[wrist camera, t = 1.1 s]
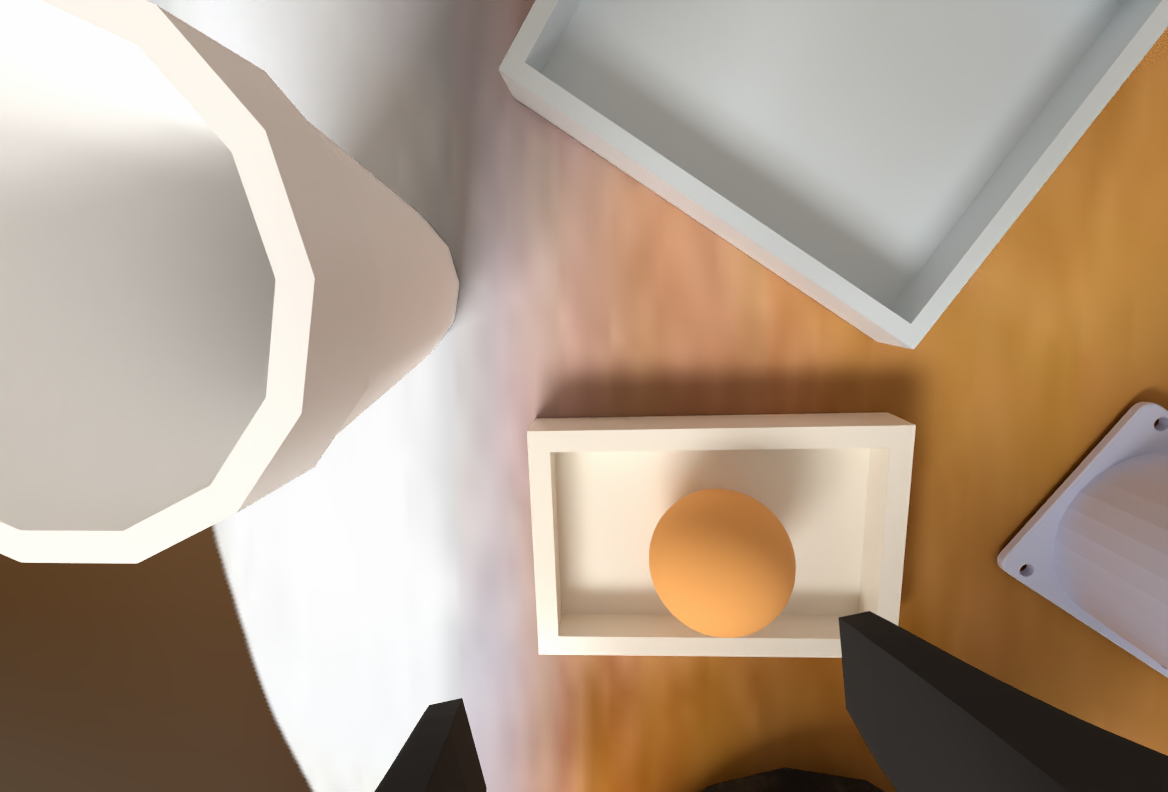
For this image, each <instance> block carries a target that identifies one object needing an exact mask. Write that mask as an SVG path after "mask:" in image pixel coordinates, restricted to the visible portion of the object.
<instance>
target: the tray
mask: <svg viewBox="0 0 1168 792" xmlns="http://www.w3.org/2000/svg"><path fill="white" fill-rule="evenodd" d="M1167 27H1168V0H535V2H534V4H533V6H532V8H531V10H530V11H529V13H528V15H527V17H526V19H525V21H524V23H523V24H522V26H521V28H520V30H519V32H518V34H517V35H516V37H515V39H514V41H513V43H512V45H511V47H510V48H509V50H508V52H507V54H506V56H505V58H504V59H503V61H502V63H501V65H500V67H499V69H498V70H499V72H500V74H501V76H502V77H503V79H504V81H505V83H506V85H507V86H508V88H509V90H510V92H511V94H512V96H513V97H514V98H515V99H516V100H518V101H519V102H521V103H522V104H524V105H525V106H527V107H528V108H530V109H531V110H533V111H534V112H536V113H537V114H539V115H540V116H542V117H543V118H545V119H546V120H548V121H549V122H551V123H552V124H553V125H555V126H556V127H558V128H559V129H561V130H562V131H564V132H565V133H567V134H568V135H570V136H571V137H573V138H574V139H576V140H577V141H579V142H580V143H582V144H583V145H585V146H586V147H588V148H589V149H591V150H592V151H594V152H595V153H597V154H598V155H600V156H601V157H603V158H604V159H606V160H607V161H609V162H610V163H612V164H613V165H615V166H616V167H617V168H619V169H620V170H622V171H623V172H625V173H626V174H628V175H629V176H631V177H632V178H634V179H635V180H637V181H638V182H640V183H641V184H643V185H644V186H646V187H647V188H649V189H650V190H652V191H653V192H655V193H656V194H658V195H659V196H661V197H662V198H664V199H665V200H667V201H668V202H670V203H671V204H673V205H674V206H676V207H677V208H679V209H680V210H682V211H683V212H684V213H686V214H687V215H689V216H690V217H692V218H693V219H695V220H696V221H698V222H699V223H701V224H702V225H704V226H705V227H707V228H708V229H710V230H711V231H713V232H714V233H716V234H717V235H719V236H720V237H722V238H723V239H725V240H726V241H728V242H729V243H731V244H732V245H734V246H735V247H737V248H738V249H740V250H741V251H743V252H744V253H746V254H747V255H749V256H750V257H751V258H753V259H754V260H756V261H757V262H759V263H760V264H762V265H763V266H765V267H766V268H768V269H769V270H771V271H772V272H774V273H775V274H777V275H778V276H780V277H781V278H783V279H784V280H786V281H787V282H789V283H790V284H792V285H793V286H795V287H796V288H798V289H799V290H801V291H802V292H804V293H805V294H807V295H808V296H810V297H811V298H813V299H814V300H815V301H817V302H818V303H820V304H821V305H823V306H824V307H826V308H827V309H829V310H830V311H832V312H833V313H835V314H836V315H838V316H839V317H841V318H842V319H844V320H845V321H847V322H848V323H850V324H851V325H853V326H854V327H856V328H857V329H859V330H860V331H862V332H863V333H865V334H866V335H868V336H869V337H871V338H872V339H874V340H875V341H877V342H880V343H885V344H890V345H895V346H899V347H904V348H909V349H913V350H914V349H915V347H916V346H917V345H918V344H919V342H920V341H921V340H922V339H923V337H924V336H925V335H926V333H927V332H928V331H929V330H930V328H931V327H932V326H933V325H934V323H935V322H936V321H937V319H938V318H939V317H940V316H941V314H942V313H943V312H944V311H945V309H946V308H947V307H948V306H949V304H950V303H951V302H952V300H953V299H954V298H955V297H956V295H957V294H958V293H959V292H960V290H961V289H962V288H963V286H964V285H965V284H966V283H967V281H968V280H969V279H970V278H971V276H972V275H973V274H974V272H975V271H976V270H977V269H978V267H979V266H980V265H981V264H982V262H983V261H984V260H985V258H986V257H987V256H988V255H989V253H990V252H991V251H992V250H993V248H994V247H995V246H996V244H997V243H998V242H999V241H1000V239H1001V238H1002V237H1003V236H1004V234H1005V233H1006V232H1007V230H1008V229H1009V228H1010V227H1011V225H1012V224H1013V223H1014V222H1015V220H1016V219H1017V218H1018V216H1019V215H1020V214H1021V213H1022V211H1023V210H1024V209H1025V208H1026V206H1027V205H1028V204H1029V202H1030V201H1031V200H1032V199H1033V197H1034V196H1035V195H1036V194H1037V192H1038V191H1039V190H1040V188H1041V187H1042V186H1043V185H1044V183H1045V182H1046V181H1047V180H1048V178H1049V177H1050V176H1051V174H1052V173H1053V172H1054V171H1055V169H1056V168H1057V167H1058V166H1059V164H1060V163H1061V162H1062V160H1063V159H1064V158H1065V157H1066V155H1067V154H1068V153H1069V152H1070V150H1071V149H1072V148H1073V146H1074V145H1075V144H1076V143H1077V141H1078V140H1079V139H1080V138H1081V136H1082V135H1083V134H1084V132H1085V131H1086V130H1087V129H1088V127H1089V126H1090V125H1091V124H1092V122H1093V121H1094V120H1095V119H1096V117H1097V116H1098V115H1099V113H1100V112H1101V111H1102V110H1103V108H1104V107H1105V106H1106V105H1107V103H1108V102H1109V101H1110V99H1111V98H1112V97H1113V96H1114V94H1115V93H1116V92H1117V91H1118V89H1119V88H1120V87H1121V85H1122V84H1123V83H1124V82H1125V80H1126V79H1127V78H1128V77H1129V75H1130V74H1131V73H1132V71H1133V70H1134V69H1135V68H1136V66H1137V65H1138V64H1139V63H1140V61H1141V60H1142V59H1143V57H1144V56H1145V55H1146V54H1147V52H1148V51H1149V50H1150V49H1151V47H1152V46H1153V45H1154V43H1155V42H1156V41H1157V40H1158V38H1159V37H1160V36H1161V35H1162V33H1163V32H1164V31H1165V29H1166V28H1167Z"/></svg>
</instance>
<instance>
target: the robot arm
mask: <svg viewBox="0 0 1168 792" xmlns="http://www.w3.org/2000/svg"><path fill="white" fill-rule="evenodd" d="M1157 419H1159V423H1158V425H1157V426H1156V427H1154V423H1155V421H1156V420H1157ZM997 563H998V566H999V567H1000V568H1001V569H1002V570H1004V571H1005V572H1006V573H1008V574H1009V575H1011V576H1012V577H1014V578H1015V579H1017V580H1018V581H1020V582H1022V583H1023V584H1025V585H1026V586H1028V587H1029V588H1031V589H1032V590H1034V591H1035V592H1037V593H1038V594H1040V595H1041V596H1043V597H1044V598H1046V599H1048V600H1049V601H1051V602H1052V603H1054V604H1055V605H1057V606H1058V607H1060V608H1061V609H1063V610H1064V611H1066V612H1067V613H1069V614H1070V615H1072V616H1074V617H1075V618H1077V619H1078V620H1080V621H1081V622H1083V623H1084V624H1086V625H1087V626H1089V627H1090V628H1092V629H1093V630H1095V631H1097V632H1098V633H1100V634H1101V635H1103V636H1104V637H1106V638H1107V639H1109V640H1110V641H1112V642H1113V643H1115V644H1116V645H1118V646H1119V647H1121V648H1123V649H1124V650H1126V651H1127V652H1129V653H1130V654H1132V655H1133V656H1135V657H1136V658H1138V659H1139V660H1141V661H1142V662H1144V663H1145V664H1147V665H1149V666H1150V667H1152V668H1153V669H1155V670H1156V671H1158V672H1159V673H1161V674H1162V675H1164V676H1165V677H1167V678H1168V410H1166V409H1165V408H1163V407H1162V406H1160V405H1158V404H1156V403H1151V402H1139V403H1136V404H1135V405H1134V406H1132V407H1131V408H1130V409H1129V410H1128V412H1127V413H1126V414H1125V415H1124V416H1123V417H1122V418H1121V419H1120V420H1119V421H1118V423H1117V424H1116V425H1115V426H1114V427H1113V428H1112V429H1111V430H1110V431H1109V433H1108V434H1107V435H1106V436H1105V437H1104V438H1103V439H1102V440H1101V441H1100V443H1099V444H1098V445H1097V446H1096V447H1095V448H1094V449H1093V450H1092V451H1091V453H1090V454H1089V455H1088V456H1087V457H1086V458H1085V459H1084V460H1083V461H1082V463H1081V464H1080V465H1079V466H1078V467H1077V468H1076V469H1075V470H1074V471H1073V472H1072V474H1071V475H1070V476H1069V477H1068V478H1067V479H1066V480H1065V481H1064V482H1063V484H1062V485H1061V486H1060V487H1059V488H1058V489H1057V490H1056V491H1055V492H1054V494H1053V495H1052V496H1051V497H1050V498H1049V499H1048V500H1047V501H1046V502H1045V504H1044V505H1043V506H1042V507H1041V508H1040V509H1039V510H1038V511H1037V512H1036V514H1035V515H1034V516H1033V517H1032V518H1031V519H1030V520H1029V521H1028V522H1027V523H1026V525H1025V526H1024V527H1023V528H1022V529H1021V530H1020V531H1019V532H1018V533H1017V535H1016V536H1015V537H1014V538H1013V539H1012V540H1011V541H1010V542H1009V543H1008V545H1007V546H1006V547H1005V548H1004V549H1003V550H1002V551H1001V552H1000V554H999V555H998V557H997ZM1023 565H1027V566H1026V568H1025V569H1024V570H1023V571H1020V569H1021V567H1022V566H1023ZM838 619H839V630H840V642H841V653H842V665H843V676H844V687H845V699H846V709H847V710H848V712H849V714H850V716H851V718H852V719H853V721H854V723H855V725H856V727H857V728H858V730H859V732H860V734H861V736H862V737H863V739H864V741H865V742H866V744H867V746H868V748H869V749H870V751H871V753H872V754H873V756H874V758H875V760H876V761H877V763H878V765H879V766H880V768H881V769H882V770H883V772H884V773H885V775H886V776H887V778H888V779H889V780H890V782H891V783H892V785H893V786H894V787H895V789H896V790H897V792H1168V756H1166V755H1164V754H1161V753H1159V752H1157V751H1154V750H1152V749H1149V748H1147V747H1144V746H1142V745H1140V744H1137V743H1135V742H1132V741H1130V740H1128V739H1125V738H1123V737H1120V736H1118V735H1116V734H1113V733H1111V732H1108V731H1106V730H1104V729H1101V728H1099V727H1097V726H1094V725H1092V724H1090V723H1088V722H1085V721H1083V720H1081V719H1079V718H1077V717H1074V716H1072V715H1070V714H1068V713H1066V712H1064V711H1062V710H1059V709H1057V708H1055V707H1053V706H1051V705H1049V704H1047V703H1045V702H1043V701H1041V700H1038V699H1036V698H1034V697H1032V696H1030V695H1028V694H1026V693H1024V692H1022V691H1020V690H1018V689H1016V688H1014V687H1012V686H1010V685H1008V684H1006V683H1004V682H1002V681H1000V680H998V679H996V678H994V677H992V676H990V675H988V674H986V673H984V672H982V671H981V670H979V669H977V668H975V667H973V666H971V665H969V664H967V663H965V662H963V661H962V660H960V659H958V658H956V657H954V656H952V655H950V654H949V653H947V652H945V651H943V650H941V649H939V648H938V647H936V646H934V645H932V644H930V643H928V642H927V641H925V640H923V639H921V638H919V637H917V636H916V635H914V634H912V633H910V632H908V631H906V630H905V629H903V628H901V627H899V626H897V625H895V624H894V623H892V622H890V621H888V620H886V619H884V618H882V617H880V616H878V615H876V614H875V613H873V612H871V611H867V612H862V613H858V614H853V615H848V616H844V617H839V618H838ZM375 792H486V785H485V781H484V777H483V774H482V770H481V766H480V762H479V759H478V755H477V751H476V748H475V744H474V740H473V737H472V733H471V729H470V726H469V722H468V718H467V714H466V711H465V707H464V703H463V700H462V698H461V699H456V700H451V701H447V702H442V703H437V704H433V705H429V707H428V708H427V709H426V711H425V712H424V714H423V716H422V717H421V719H420V720H419V722H418V723H417V725H416V727H415V728H414V730H413V731H412V733H411V735H410V736H409V738H408V740H407V741H406V743H405V744H404V746H403V748H402V749H401V751H400V753H399V754H398V756H397V757H396V759H395V761H394V762H393V764H392V765H391V767H390V768H389V770H388V772H387V773H386V775H385V776H384V778H383V780H382V781H381V783H380V784H379V786H378V787H377V789H376V790H375Z"/></svg>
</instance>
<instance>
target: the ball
mask: <svg viewBox="0 0 1168 792" xmlns="http://www.w3.org/2000/svg"><path fill="white" fill-rule="evenodd" d="M649 568H650V574H651V578H652V581H653V585H654V587H655V589H656V592H657V594H658V596H659V597H660V599H661V601H662V602H663V604H664V605H665V606H666V608H667V609H668V610H669V611H670V612H671V613H672V614H673V615H674V616H675V617H676V618H677V619H678V620H679V621H681V622H682V623H683V624H685V625H686V626H688V627H690V628H691V629H693V630H695V631H697V632H700V633H702V634H705V635H709V636H714V637H721V638H735V637H742V636H746V635H749V634H752V633H755V632H757V631H759V630H761V629H763V628H764V627H766V626H767V625H769V624H770V623H771V622H772V621H773V620H774V619H776V617H777V616H778V615H779V614H780V613H781V612H782V610H783V609H784V608H785V606H786V604H787V602H788V601H789V599H790V596H791V593H792V591H793V588H794V583H795V575H796V561H795V555H794V550H793V546H792V543H791V540H790V538H789V536H788V534H787V532H786V530H785V528H784V526H783V525H782V523H781V522H780V521H779V519H778V518H777V517H776V516H775V515H774V514H773V513H772V512H771V511H770V510H769V509H768V508H767V507H766V506H765V505H763V504H762V503H761V502H759V501H757V500H756V499H754V498H752V497H750V496H748V495H746V494H743V493H741V492H737V491H733V490H726V489H707V490H702V491H698V492H694V493H692V494H689V495H687V496H685V497H683V498H681V499H680V500H679V501H677V502H676V503H674V504H673V505H672V506H671V507H670V508H669V509H668V510H667V511H666V512H665V514H664V515H663V516H662V517H661V519H660V520H659V522H658V523H657V525H656V528H655V530H654V532H653V535H652V539H651V542H650V548H649Z"/></svg>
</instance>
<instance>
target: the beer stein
mask: <svg viewBox="0 0 1168 792" xmlns="http://www.w3.org/2000/svg"><path fill="white" fill-rule="evenodd" d="M701 792H884V791H882V790H881V789H879V788H877V787H876V786H874V785H873V784H871V783H869V782H868V781H865V780H859V779H852V778H846V777H840V776H834V775H827V774H821V773H815V772H809V771H802V770H796V769H790V768H781V769H777V770H773V771H769V772H765V773H761V774H757V775H752V776H748V777H744V778H740V779H736V780H732V781H727V782H723V783H719V784H715V785H711V786H708V787H707V788H705V789H704V790H702V791H701Z"/></svg>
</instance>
